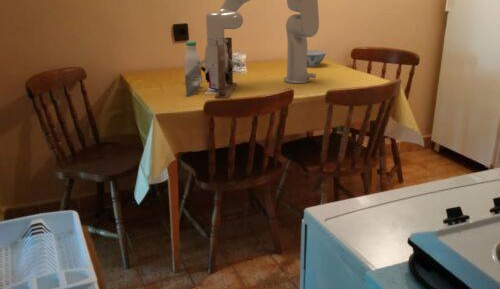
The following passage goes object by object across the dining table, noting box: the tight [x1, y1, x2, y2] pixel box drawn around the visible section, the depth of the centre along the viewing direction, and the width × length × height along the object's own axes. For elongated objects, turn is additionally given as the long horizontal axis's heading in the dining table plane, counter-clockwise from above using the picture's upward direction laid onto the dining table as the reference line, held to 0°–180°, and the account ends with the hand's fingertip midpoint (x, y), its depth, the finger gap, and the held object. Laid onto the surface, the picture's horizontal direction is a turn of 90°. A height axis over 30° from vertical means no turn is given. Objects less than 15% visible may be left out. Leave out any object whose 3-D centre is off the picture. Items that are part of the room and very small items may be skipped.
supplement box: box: [208, 64, 226, 90], centre depth 200 cm, size 6×6×12 cm
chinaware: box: [307, 49, 326, 68], centre depth 254 cm, size 15×15×8 cm
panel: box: [184, 66, 204, 98], centre depth 202 cm, size 4×20×10 cm, turn 174°
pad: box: [204, 87, 219, 95], centre depth 202 cm, size 10×10×1 cm
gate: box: [214, 37, 238, 99], centre depth 198 cm, size 6×24×22 cm, turn 174°
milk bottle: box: [183, 40, 202, 82], centre depth 216 cm, size 8×8×20 cm
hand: (217, 81), depth 201 cm, fingers closed on supplement box, 7 cm apart
